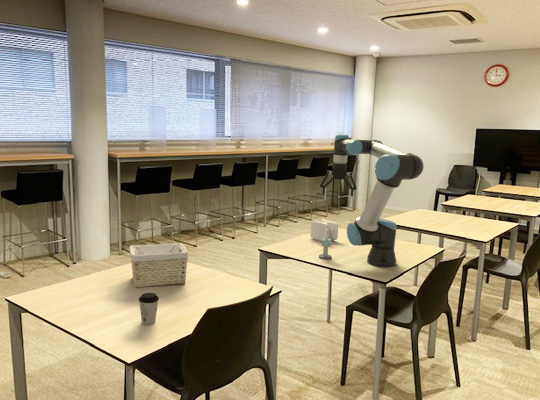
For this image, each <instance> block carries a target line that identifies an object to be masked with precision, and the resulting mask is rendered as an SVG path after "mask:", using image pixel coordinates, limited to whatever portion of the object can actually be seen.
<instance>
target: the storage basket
mask: <svg viewBox="0 0 540 400" xmlns="http://www.w3.org/2000/svg"><path fill="white" fill-rule="evenodd" d="M129 255H130V260H131V261H130V262H131V271H132V282H133V285H134V287H135V288H145V287H148V288H149V287H156V286H157V287H158V286H169V285H179V284H181V285H182V284H186V279H187V268H188V266H187V265H188V258H189V251H188V249H187V248H186V246H185V245H184V244H183V243H181V242H179V243H160V244H157V243H156V244H131V245H130V246H129Z"/></svg>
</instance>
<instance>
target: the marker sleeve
mask: <svg viewBox="0 0 540 400" xmlns="http://www.w3.org/2000/svg"><path fill="white" fill-rule="evenodd" d="M331 241H332V240H331V239H328V240H325V238H322V242H321V246H323V247H324V246H329V247H331Z"/></svg>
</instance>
